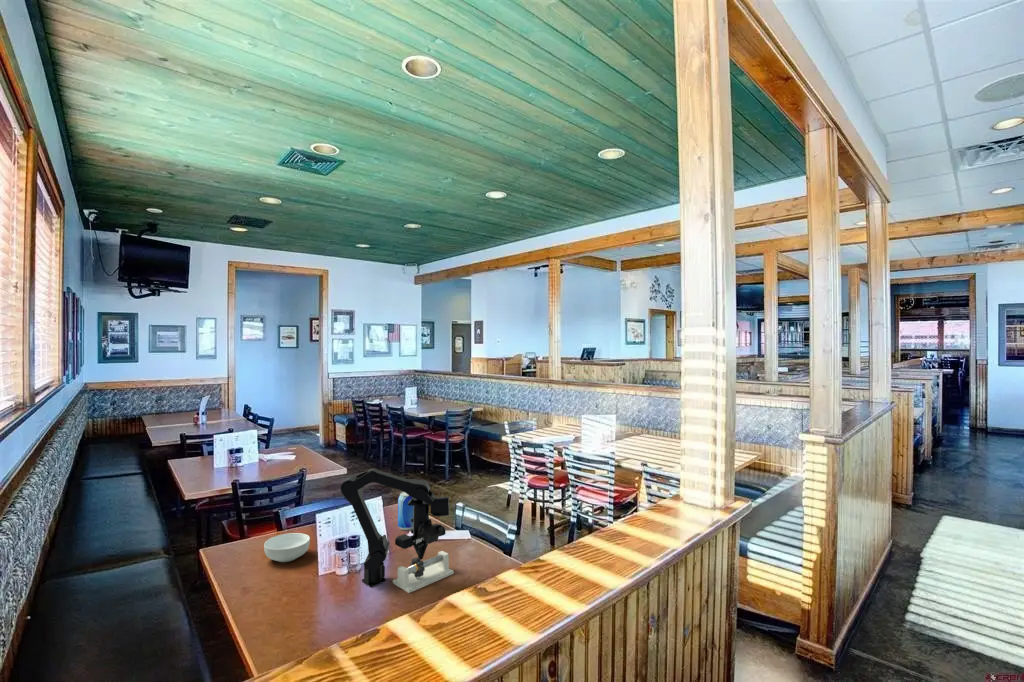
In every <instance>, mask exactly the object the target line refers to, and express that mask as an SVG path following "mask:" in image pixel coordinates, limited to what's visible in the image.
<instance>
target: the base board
mask: <svg viewBox="0 0 1024 682" xmlns="http://www.w3.org/2000/svg"><path fill="white" fill-rule="evenodd" d="M438 555H442V556H443V561H441V562H439V563H436V564H434V565H431V566H429V567H426V568H425V571H424V572H423V576H420V577H415V576H414V574H413V573H411V574H409V569H407V567H405V566H403V565H402V566H398V567H397V574H396V575H397V578H396V579H393V580H392V584H393V585H395V586H397V587H398V588H400V589H402V590H403V591H405V593H408V594H410V593H412V592H414V591H417V590H419V589H422V588H423V587H426V586H428V585H430V584H433V583H435V582H437V581H440V580H442V579H445V578H447V577H450V576H451V575H453V574H454V573H455V572H454V570H453V569H450V568H449V567H450V564H449V562H450V560H449V558H450V557H449V556H450V555H449V553H448V552H446V551H443V550H440V551H438V552H437V556H438Z"/></svg>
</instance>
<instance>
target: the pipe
mask: <svg viewBox="0 0 1024 682" xmlns="http://www.w3.org/2000/svg"><path fill="white" fill-rule="evenodd" d="M422 561H423V567H424V568H426V567H429V566H431V565H434V564H436V563H439V562H441V561H443V556H442V555H438V554H437V555H435V556H434V557H431V558H428V559H425V560H422ZM421 567H422V566H421ZM406 568H407V569H409V574H411V573H414V572H417V571H418V568H419V567H418V566H417V564H414V565H412V566H408V567H406Z"/></svg>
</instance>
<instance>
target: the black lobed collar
mask: <svg viewBox="0 0 1024 682" xmlns="http://www.w3.org/2000/svg"><path fill="white" fill-rule="evenodd" d="M423 561H424V560H422V559H420V558H419V557H418V556H417V557H413V558H412V559H411V561H410V564H409V565H410V566H412V565H414V564H417V566H418V567H419V568H418V571H417V572H414V573H413V574H414V576H415V577H420V576H423V572H424V571H425V568H424V567H423ZM410 566H409V567H410ZM421 566H422V567H421Z"/></svg>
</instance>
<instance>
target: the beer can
mask: <svg viewBox="0 0 1024 682" xmlns="http://www.w3.org/2000/svg"><path fill="white" fill-rule="evenodd" d="M411 499H412V497H411V496H409V495H408V494H407V493H405V492H403V491H401V492H400V493H399V497H398V498H397V527H398V528H399V529H400V530H402V531H411V530H413V522H411V519H412V518H413V506H408V502H409V501H410V500H411Z"/></svg>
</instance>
